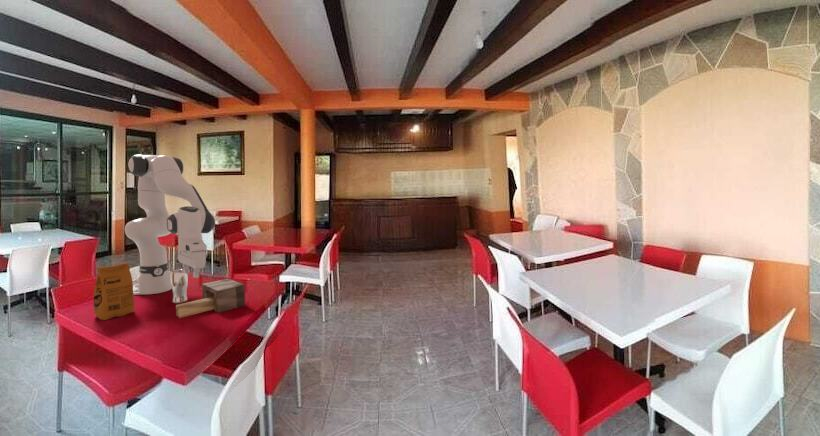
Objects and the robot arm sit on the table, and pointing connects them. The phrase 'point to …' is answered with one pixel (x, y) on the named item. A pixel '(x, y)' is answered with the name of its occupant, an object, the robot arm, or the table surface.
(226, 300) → the end cap
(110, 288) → the coffee package
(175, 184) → the robot arm
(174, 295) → the beer glass
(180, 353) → the table surface
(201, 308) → the slat
